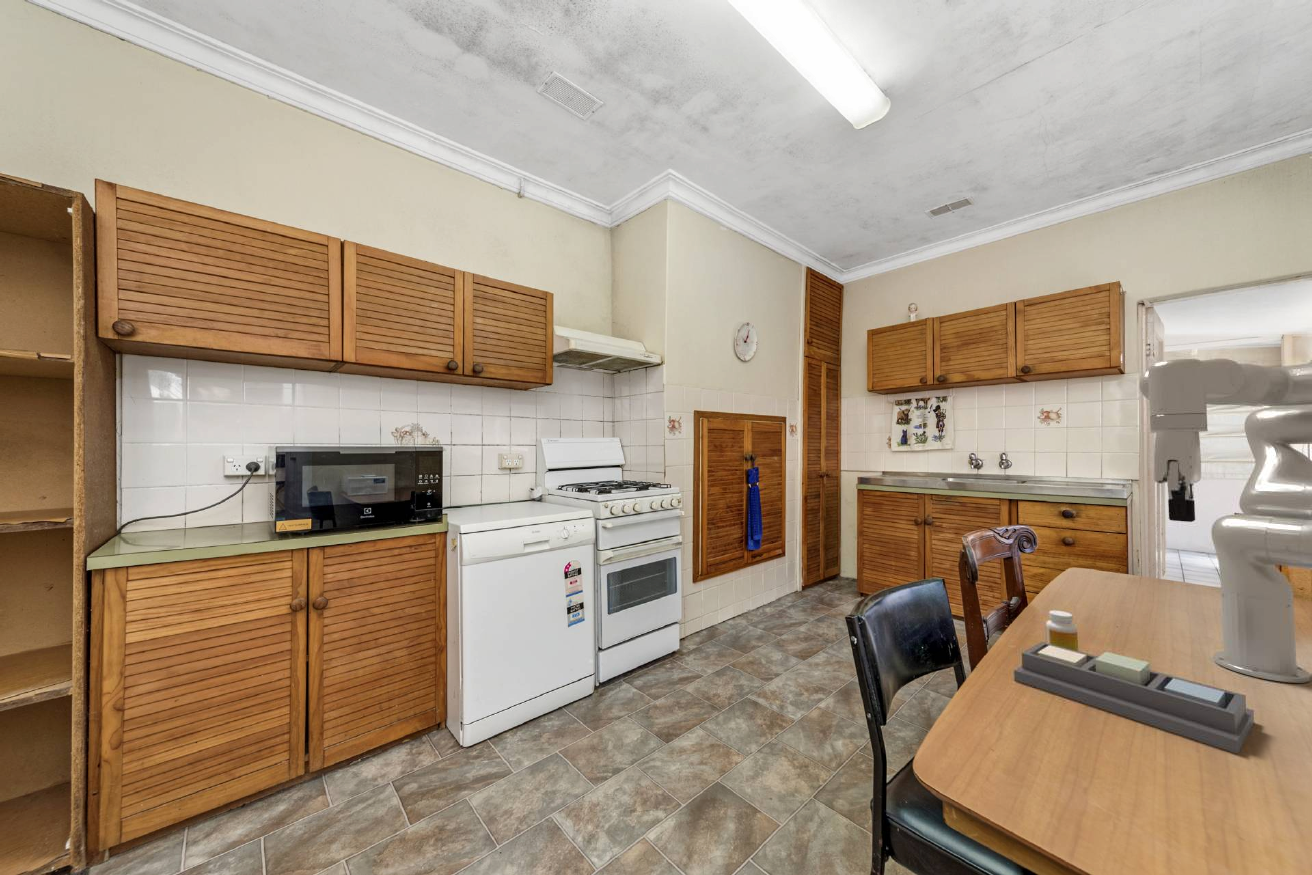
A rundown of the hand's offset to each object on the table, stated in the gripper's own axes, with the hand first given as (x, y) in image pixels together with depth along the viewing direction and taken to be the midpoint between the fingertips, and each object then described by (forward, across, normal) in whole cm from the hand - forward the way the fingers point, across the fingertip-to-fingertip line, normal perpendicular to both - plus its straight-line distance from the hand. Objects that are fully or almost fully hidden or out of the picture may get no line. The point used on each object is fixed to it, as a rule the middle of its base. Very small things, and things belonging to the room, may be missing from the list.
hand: (1182, 520), depth 94 cm
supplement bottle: (+32, +1, -19) cm, 37 cm away
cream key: (+30, +14, -15) cm, 36 cm away
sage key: (+28, +14, -6) cm, 32 cm away
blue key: (+30, +14, +3) cm, 33 cm away
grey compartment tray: (+32, +14, -6) cm, 36 cm away
